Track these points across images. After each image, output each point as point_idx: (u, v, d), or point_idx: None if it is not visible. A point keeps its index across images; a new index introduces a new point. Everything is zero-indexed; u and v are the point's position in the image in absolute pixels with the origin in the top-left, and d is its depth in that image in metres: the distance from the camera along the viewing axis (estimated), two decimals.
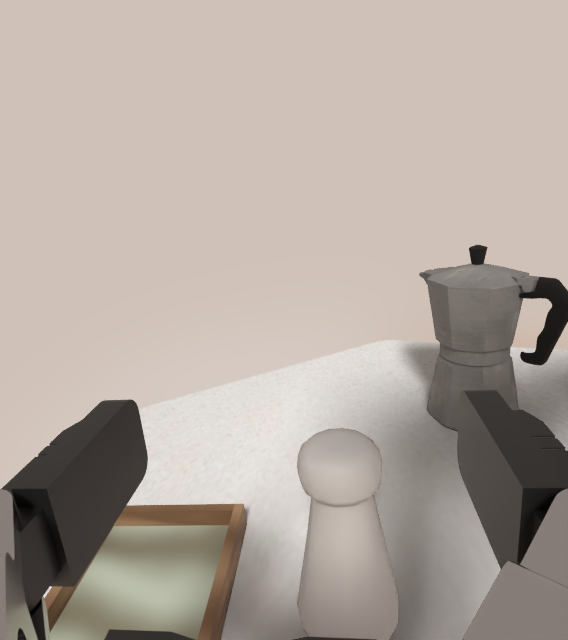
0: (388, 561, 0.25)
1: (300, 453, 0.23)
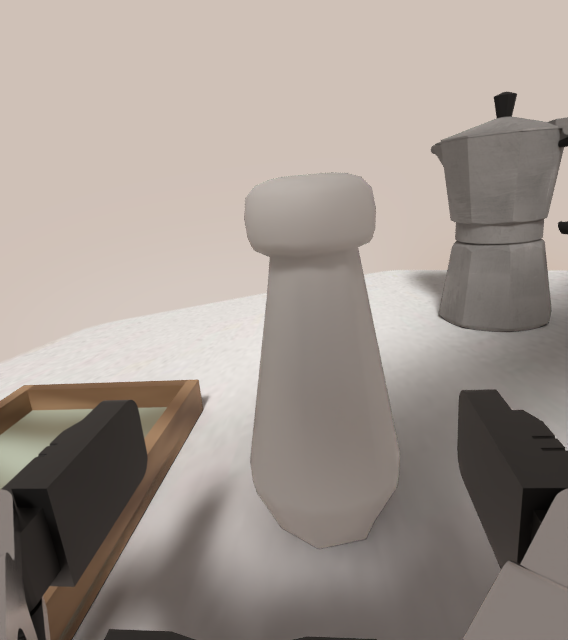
0: (385, 388, 0.17)
1: (248, 194, 0.15)
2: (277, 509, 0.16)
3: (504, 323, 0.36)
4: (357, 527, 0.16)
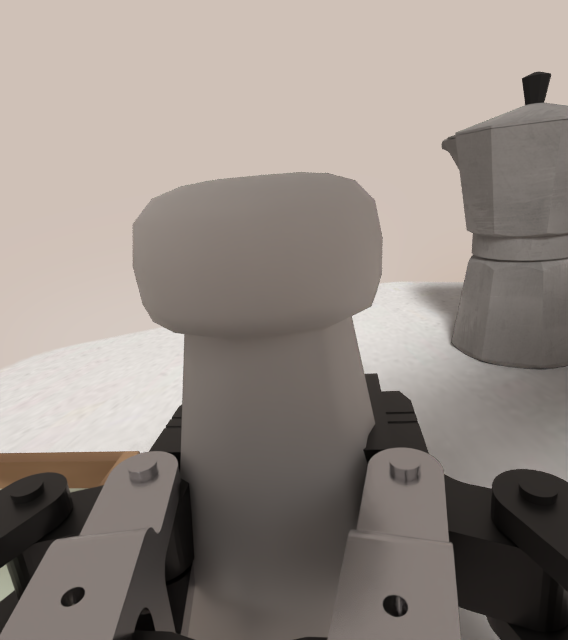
0: None
1: None
2: None
3: (535, 358, 0.29)
4: None
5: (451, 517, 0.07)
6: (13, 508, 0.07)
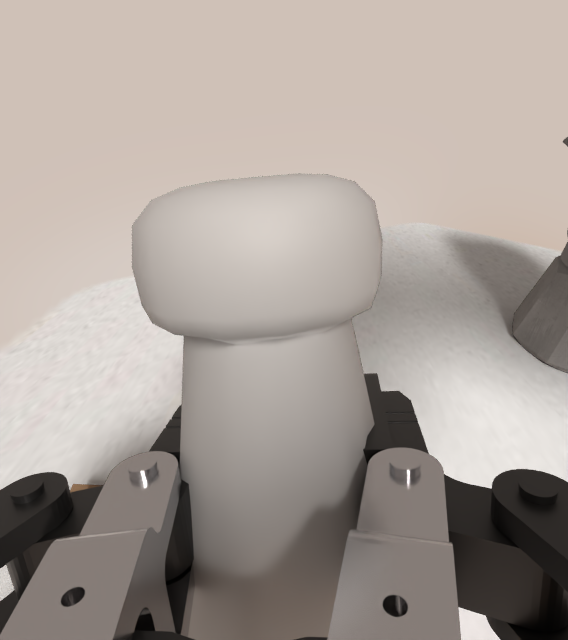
0: None
1: None
2: None
3: None
4: None
5: (451, 517, 0.07)
6: (13, 508, 0.07)
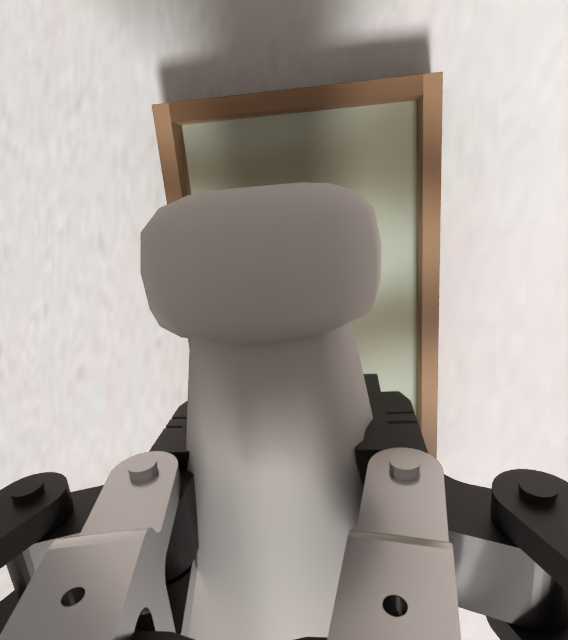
0: None
1: None
2: None
3: None
4: None
5: (450, 517, 0.07)
6: (13, 508, 0.07)
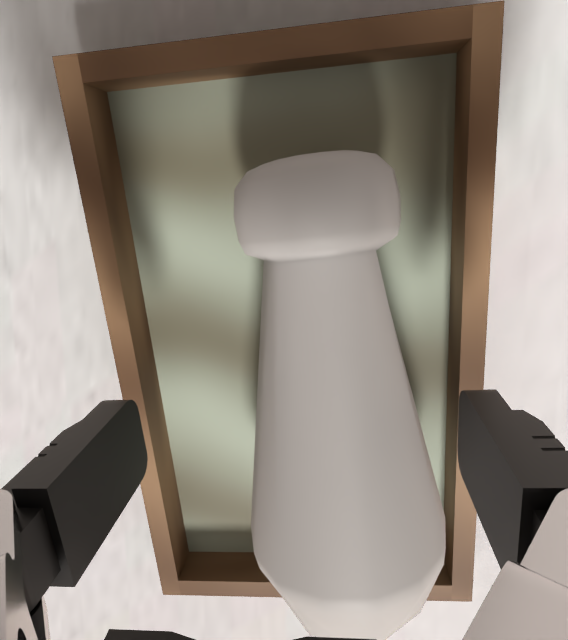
0: None
1: (239, 182, 0.11)
2: (325, 612, 0.11)
3: None
4: (417, 601, 0.13)
5: None
6: None
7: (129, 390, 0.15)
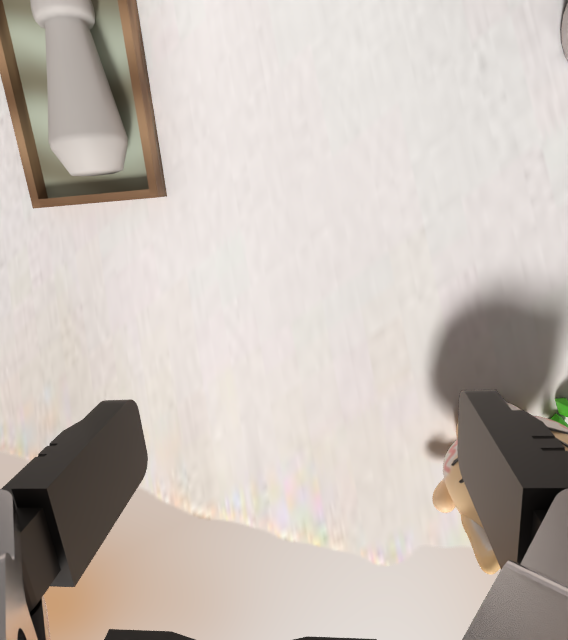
0: (113, 98, 0.36)
1: None
2: (62, 142, 0.33)
3: None
4: (105, 155, 0.34)
5: None
6: None
7: (9, 98, 0.37)
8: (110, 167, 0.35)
